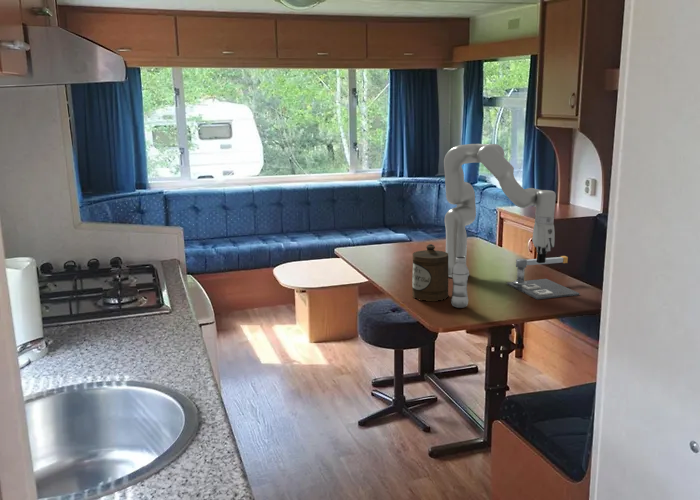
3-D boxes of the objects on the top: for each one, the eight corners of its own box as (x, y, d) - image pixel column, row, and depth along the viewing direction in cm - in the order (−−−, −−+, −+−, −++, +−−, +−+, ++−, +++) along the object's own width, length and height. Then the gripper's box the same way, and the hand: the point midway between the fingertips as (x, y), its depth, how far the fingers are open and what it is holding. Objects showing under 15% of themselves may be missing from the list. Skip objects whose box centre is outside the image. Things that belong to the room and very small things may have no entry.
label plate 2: (540, 295, 262) (540, 293, 262) (533, 292, 267) (533, 290, 266) (552, 293, 264) (552, 292, 263) (545, 290, 268) (545, 289, 268)
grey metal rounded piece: (517, 285, 276) (518, 270, 275) (510, 282, 282) (511, 266, 280) (530, 284, 278) (530, 268, 276) (522, 281, 283) (523, 265, 282)
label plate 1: (528, 289, 270) (528, 287, 270) (521, 286, 275) (521, 284, 275) (540, 288, 272) (540, 286, 272) (534, 285, 277) (534, 283, 276)
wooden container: (406, 293, 269) (406, 242, 264) (437, 289, 274) (438, 239, 270) (422, 303, 256) (423, 249, 251) (454, 299, 261) (456, 246, 256)
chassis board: (536, 299, 259) (537, 297, 259) (506, 284, 281) (506, 282, 281) (579, 295, 264) (579, 293, 264) (546, 280, 287) (546, 278, 287)
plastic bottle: (464, 310, 246) (465, 260, 242) (448, 307, 250) (449, 258, 245) (470, 306, 251) (472, 256, 247) (454, 303, 255) (455, 254, 250)
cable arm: (519, 268, 275) (519, 261, 275) (514, 265, 280) (514, 259, 279) (568, 264, 281) (569, 257, 281) (562, 261, 286) (563, 255, 285)
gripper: (562, 223, 262) (558, 266, 266) (542, 216, 276) (538, 257, 280) (546, 223, 260) (542, 267, 264) (526, 217, 274) (523, 258, 278)
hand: (540, 262), depth 272 cm, fingers closed
